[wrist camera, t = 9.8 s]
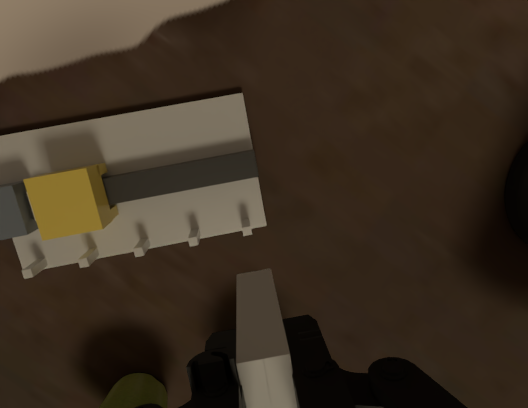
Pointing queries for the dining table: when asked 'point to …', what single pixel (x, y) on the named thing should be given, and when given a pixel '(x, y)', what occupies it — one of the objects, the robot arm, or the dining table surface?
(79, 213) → the yellow sliding cube
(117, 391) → the plant pot
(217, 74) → the dining table surface
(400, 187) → the dining table surface
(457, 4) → the dining table surface
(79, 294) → the dining table surface
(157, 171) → the white pegged slab
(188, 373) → the robot arm
